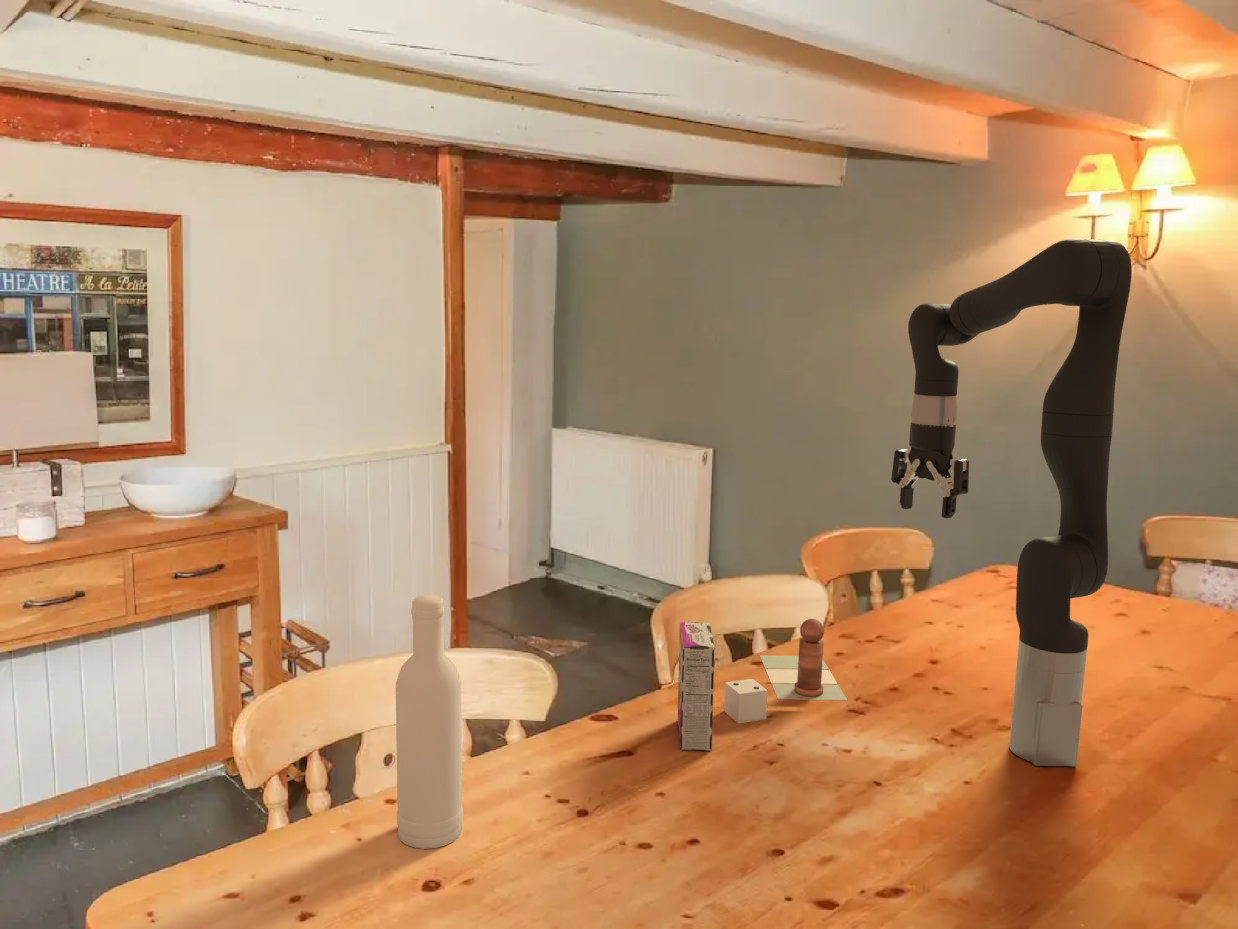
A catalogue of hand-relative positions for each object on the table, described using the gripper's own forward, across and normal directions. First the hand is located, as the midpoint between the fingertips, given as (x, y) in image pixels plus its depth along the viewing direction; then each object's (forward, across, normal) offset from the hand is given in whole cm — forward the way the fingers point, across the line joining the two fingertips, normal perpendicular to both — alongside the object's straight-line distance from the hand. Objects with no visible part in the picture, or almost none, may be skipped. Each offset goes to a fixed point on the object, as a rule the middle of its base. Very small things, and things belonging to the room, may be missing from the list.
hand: (926, 513), depth 171 cm
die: (+30, -4, -37) cm, 48 cm away
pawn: (+29, -4, -23) cm, 37 cm away
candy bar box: (+30, -3, -49) cm, 58 cm away
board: (+30, -10, -19) cm, 37 cm away
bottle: (+30, +1, -95) cm, 99 cm away
